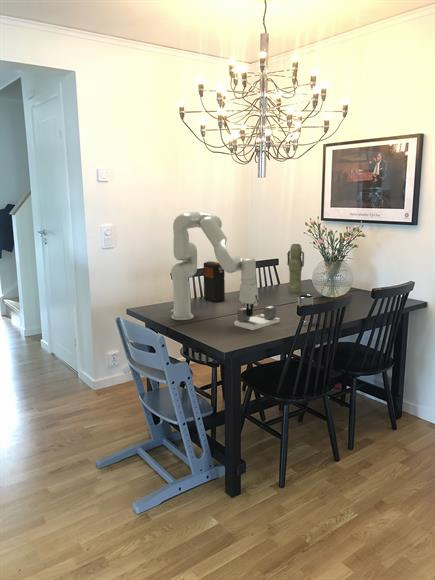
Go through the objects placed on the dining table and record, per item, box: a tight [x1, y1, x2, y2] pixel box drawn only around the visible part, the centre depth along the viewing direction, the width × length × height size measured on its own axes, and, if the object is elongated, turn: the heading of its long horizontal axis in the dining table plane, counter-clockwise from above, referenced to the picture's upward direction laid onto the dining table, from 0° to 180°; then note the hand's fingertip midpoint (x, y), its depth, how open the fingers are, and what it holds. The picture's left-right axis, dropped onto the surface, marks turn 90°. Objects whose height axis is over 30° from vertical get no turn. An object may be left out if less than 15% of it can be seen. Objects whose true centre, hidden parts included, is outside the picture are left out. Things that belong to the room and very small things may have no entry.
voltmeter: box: [203, 260, 226, 303], centre depth 305 cm, size 16×9×25 cm, turn 34°
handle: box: [263, 305, 277, 320], centre depth 252 cm, size 4×5×6 cm
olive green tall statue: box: [286, 243, 305, 296], centre depth 317 cm, size 9×12×35 cm
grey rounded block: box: [237, 307, 251, 322], centre depth 249 cm, size 4×5×6 cm
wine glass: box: [297, 294, 314, 324], centre depth 250 cm, size 8×8×15 cm
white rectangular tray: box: [233, 313, 281, 331], centre depth 251 cm, size 13×22×2 cm, turn 133°
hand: (249, 315), depth 246 cm, fingers closed
